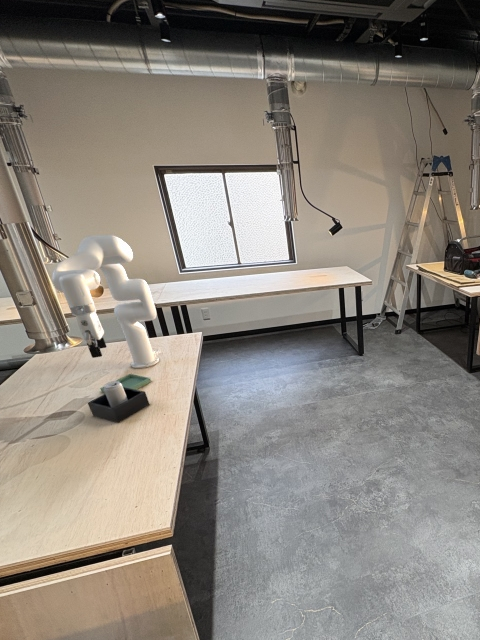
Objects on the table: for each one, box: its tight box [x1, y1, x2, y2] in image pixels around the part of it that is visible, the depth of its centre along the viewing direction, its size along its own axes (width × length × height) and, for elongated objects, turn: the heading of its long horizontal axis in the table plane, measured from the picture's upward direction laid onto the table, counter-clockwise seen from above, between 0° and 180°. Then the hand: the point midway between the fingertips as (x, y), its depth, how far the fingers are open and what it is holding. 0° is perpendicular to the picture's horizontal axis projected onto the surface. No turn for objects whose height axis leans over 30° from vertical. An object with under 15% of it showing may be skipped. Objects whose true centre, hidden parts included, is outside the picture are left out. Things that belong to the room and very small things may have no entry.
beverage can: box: [103, 380, 128, 408], centre depth 166 cm, size 6×6×12 cm
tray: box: [99, 373, 152, 394], centre depth 188 cm, size 15×13×2 cm
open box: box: [87, 387, 151, 424], centre depth 168 cm, size 15×15×6 cm
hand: (99, 352), depth 157 cm, fingers open, 9 cm apart
